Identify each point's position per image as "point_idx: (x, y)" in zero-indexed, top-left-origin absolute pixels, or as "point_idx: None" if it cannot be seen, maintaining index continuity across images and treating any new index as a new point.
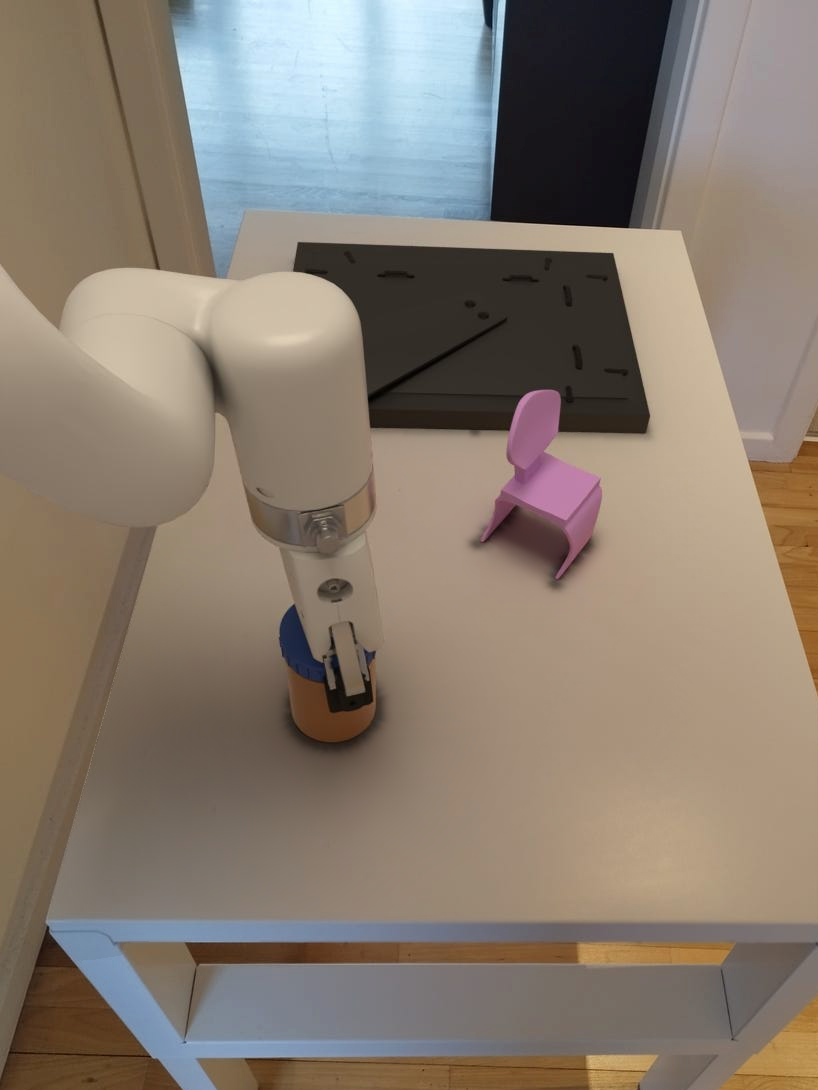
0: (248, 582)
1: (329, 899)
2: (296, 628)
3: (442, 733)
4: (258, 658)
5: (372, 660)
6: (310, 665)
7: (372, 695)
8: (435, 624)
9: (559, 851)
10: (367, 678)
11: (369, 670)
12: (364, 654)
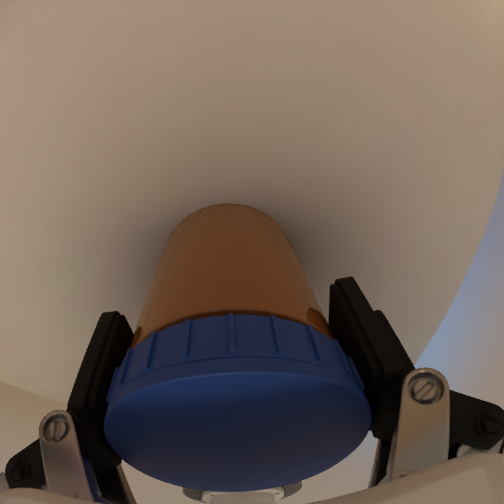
0: (43, 344)
1: (457, 273)
2: (233, 482)
3: (306, 99)
4: None
5: (297, 316)
6: (341, 460)
7: (360, 291)
8: (69, 95)
9: (480, 28)
10: (447, 386)
11: (399, 368)
12: (447, 452)
